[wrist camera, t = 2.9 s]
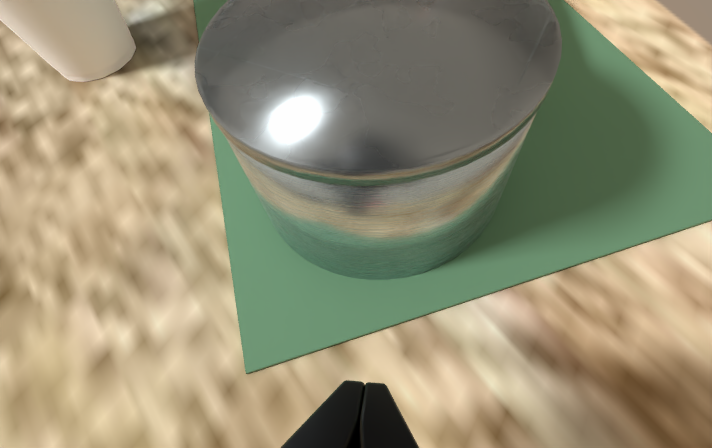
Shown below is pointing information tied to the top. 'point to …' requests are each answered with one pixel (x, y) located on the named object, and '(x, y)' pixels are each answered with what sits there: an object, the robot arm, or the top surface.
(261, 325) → the green mat
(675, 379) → the top surface
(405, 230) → the chrome metal canister
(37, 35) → the foam cup
